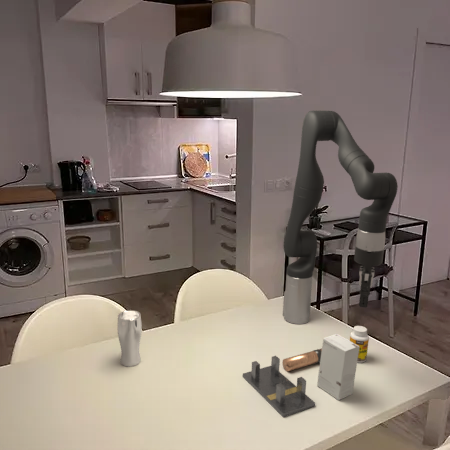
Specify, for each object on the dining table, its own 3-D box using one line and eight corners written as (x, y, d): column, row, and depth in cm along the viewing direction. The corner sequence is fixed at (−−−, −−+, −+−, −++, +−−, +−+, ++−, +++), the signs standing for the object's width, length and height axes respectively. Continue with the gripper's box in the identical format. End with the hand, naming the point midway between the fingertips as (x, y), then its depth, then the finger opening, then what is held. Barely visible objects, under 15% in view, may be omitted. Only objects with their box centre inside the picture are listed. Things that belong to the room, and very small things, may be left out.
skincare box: (316, 386, 128) (320, 337, 125) (331, 379, 132) (335, 331, 128) (339, 401, 122) (344, 350, 118) (355, 394, 125) (360, 344, 122)
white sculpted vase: (124, 370, 134) (123, 322, 130) (114, 359, 139) (113, 313, 136) (146, 362, 138) (145, 316, 134) (136, 352, 143) (135, 308, 140)
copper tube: (289, 373, 134) (289, 361, 133) (282, 368, 137) (282, 356, 137) (335, 359, 142) (335, 348, 141) (327, 355, 145) (327, 344, 145)
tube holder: (242, 376, 132) (243, 357, 131) (271, 368, 137) (272, 350, 135) (283, 417, 115) (284, 396, 114) (315, 406, 120) (316, 385, 118)
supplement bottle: (352, 364, 140) (355, 333, 138) (345, 354, 146) (347, 324, 143) (369, 363, 141) (373, 332, 139) (361, 353, 146) (365, 324, 144)
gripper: (356, 237, 134) (351, 289, 138) (354, 251, 121) (348, 308, 125) (384, 240, 132) (377, 293, 136) (384, 255, 119) (377, 313, 123)
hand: (363, 300), depth 130 cm, fingers open, 8 cm apart
